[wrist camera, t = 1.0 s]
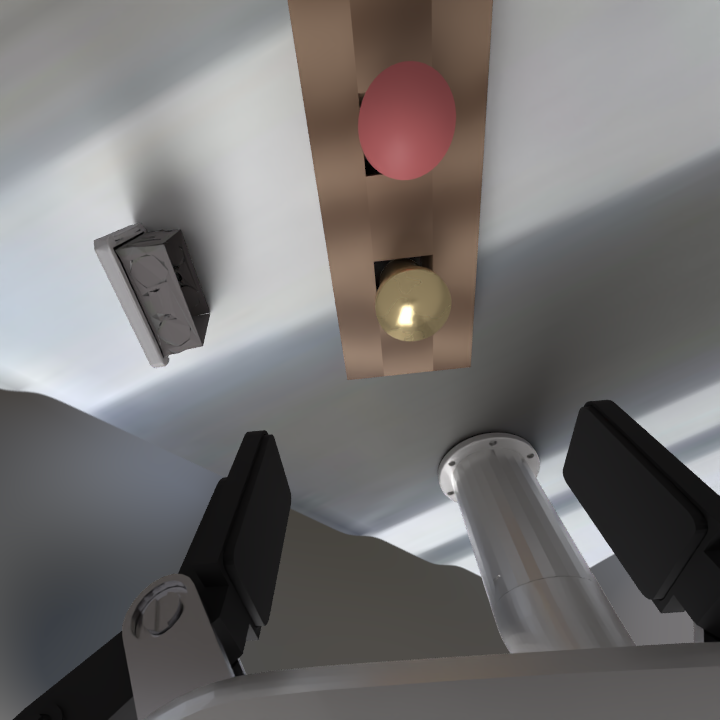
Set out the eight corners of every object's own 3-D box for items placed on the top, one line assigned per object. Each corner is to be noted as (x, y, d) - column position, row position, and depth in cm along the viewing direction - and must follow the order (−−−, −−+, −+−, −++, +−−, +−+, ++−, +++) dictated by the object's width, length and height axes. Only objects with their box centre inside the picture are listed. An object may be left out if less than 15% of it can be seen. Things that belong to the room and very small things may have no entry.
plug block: (455, 341, 34) (470, 366, 30) (348, 353, 35) (347, 379, 30) (467, -25, 21) (497, -74, 17) (295, 1, 22) (281, -40, 17)
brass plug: (432, 305, 29) (450, 337, 23) (373, 311, 29) (378, 345, 24) (431, 244, 26) (452, 265, 21) (368, 252, 26) (372, 274, 21)
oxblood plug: (431, 172, 24) (454, 173, 18) (361, 181, 24) (363, 185, 19) (430, 82, 21) (457, 53, 16) (352, 93, 21) (352, 68, 16)
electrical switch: (132, 222, 28) (59, 244, 20) (195, 215, 28) (148, 233, 20) (175, 325, 33) (130, 375, 25) (229, 317, 33) (201, 365, 25)
